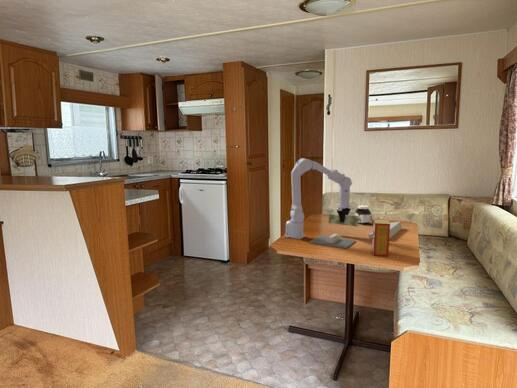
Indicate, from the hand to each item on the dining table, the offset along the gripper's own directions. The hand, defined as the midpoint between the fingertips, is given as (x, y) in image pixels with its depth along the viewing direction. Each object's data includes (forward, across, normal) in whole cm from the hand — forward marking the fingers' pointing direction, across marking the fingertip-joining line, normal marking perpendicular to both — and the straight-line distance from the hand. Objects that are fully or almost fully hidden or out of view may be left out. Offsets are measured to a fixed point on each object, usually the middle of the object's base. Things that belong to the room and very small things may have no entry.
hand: (343, 221), depth 208 cm
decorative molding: (+9, +21, -19) cm, 30 cm away
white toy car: (+9, +39, -2) cm, 40 cm away
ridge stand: (+8, -16, 0) cm, 18 cm away
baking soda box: (+9, -22, -26) cm, 35 cm away
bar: (+2, 0, 0) cm, 2 cm away
